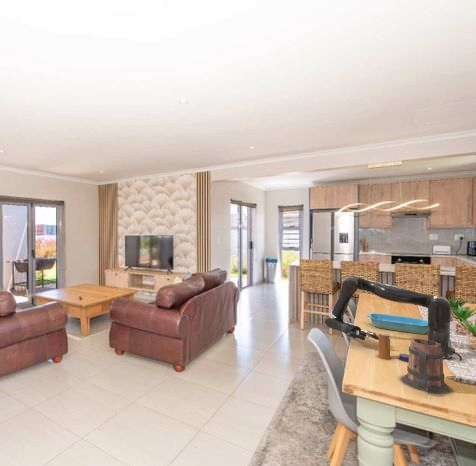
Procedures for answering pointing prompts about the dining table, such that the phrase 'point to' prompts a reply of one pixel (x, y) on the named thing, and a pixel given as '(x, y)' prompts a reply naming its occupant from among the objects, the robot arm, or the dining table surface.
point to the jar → (384, 346)
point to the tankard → (426, 367)
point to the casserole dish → (399, 323)
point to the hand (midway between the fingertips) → (371, 338)
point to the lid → (404, 357)
